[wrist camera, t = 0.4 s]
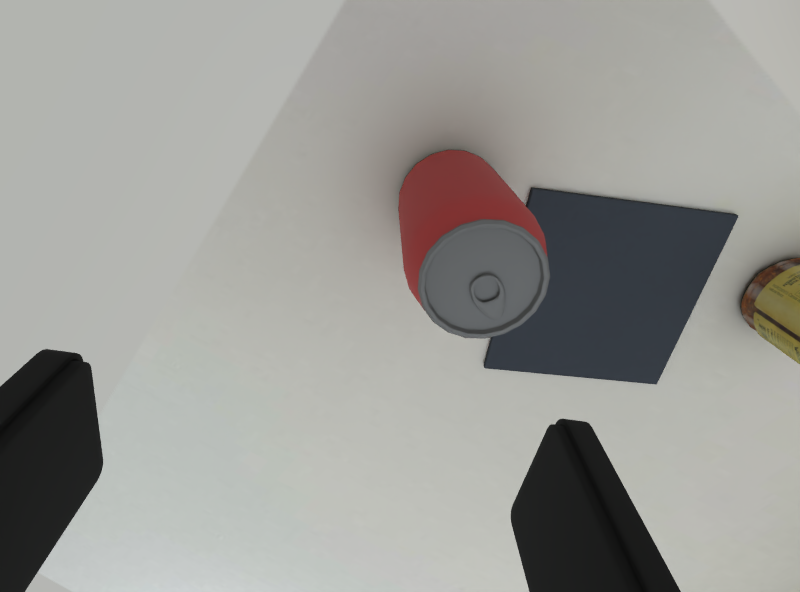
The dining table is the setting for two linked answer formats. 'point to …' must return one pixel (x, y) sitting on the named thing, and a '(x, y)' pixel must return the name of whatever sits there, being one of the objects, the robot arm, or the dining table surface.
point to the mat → (612, 286)
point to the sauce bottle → (776, 306)
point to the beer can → (470, 246)
